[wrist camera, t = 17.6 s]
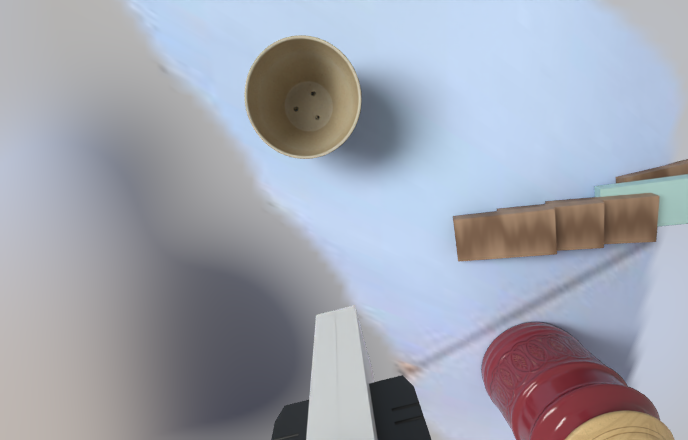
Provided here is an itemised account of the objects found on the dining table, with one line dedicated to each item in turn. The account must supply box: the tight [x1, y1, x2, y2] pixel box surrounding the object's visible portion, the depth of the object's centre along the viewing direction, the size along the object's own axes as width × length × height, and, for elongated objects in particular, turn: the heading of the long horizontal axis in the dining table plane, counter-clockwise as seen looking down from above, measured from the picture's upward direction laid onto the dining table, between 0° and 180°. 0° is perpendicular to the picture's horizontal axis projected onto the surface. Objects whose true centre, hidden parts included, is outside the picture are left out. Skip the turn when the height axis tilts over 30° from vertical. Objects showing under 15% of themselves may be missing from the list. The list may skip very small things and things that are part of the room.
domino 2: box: [497, 199, 604, 251], centre depth 38 cm, size 5×2×10 cm
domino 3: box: [545, 193, 660, 244], centre depth 38 cm, size 5×2×10 cm
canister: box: [481, 322, 674, 440], centre depth 36 cm, size 13×13×18 cm
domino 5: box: [594, 174, 688, 226], centre depth 37 cm, size 5×2×10 cm
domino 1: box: [453, 205, 557, 261], centre depth 38 cm, size 5×2×10 cm
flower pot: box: [245, 36, 362, 159], centre depth 32 cm, size 10×10×7 cm
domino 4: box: [616, 159, 688, 183], centre depth 39 cm, size 5×2×10 cm
